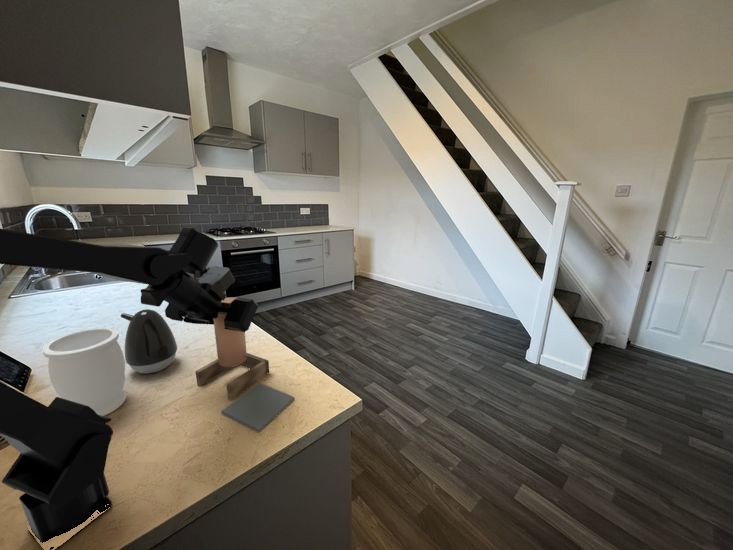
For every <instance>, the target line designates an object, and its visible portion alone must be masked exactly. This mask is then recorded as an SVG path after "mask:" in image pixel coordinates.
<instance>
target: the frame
mask: <svg viewBox="0 0 733 550" xmlns="http://www.w3.org/2000/svg"><path fill="white" fill-rule="evenodd" d="M239 366H241V367H243V366H244V368H246V367H247V368H246V369H248V370H247V371H245V372H244V373H242V374H241V375H239V376H237V377H236V378H234V379H233V380H231V381H230V382H228V383H226V392H227V393H226V395H227V400H229V401H232V400H234V399H235V398H236V397H238V396H240V395H241V394H242V393H244V392H245V391H246V390H248V389H250V386H251V387H252V386H253V385H255V384H256V383H258V382H259V381H260V380H262V379H263V378H265V377H266V376H267V375H268V374H267V373H269V374H270V363H269V360H268V359H266V358H263V357H260V356H257V355H254V354H251V353H248V352H247V359H246V361H245V362H243V363H242V364H240V365H239ZM249 368H250V369H249ZM230 369H232V367H223V366H220V365H219V364H218V358H217V359H216V360H213V361H212V362H210V363H208V364H206V365H204V366H202V367H200V368H198V369H197V370H195V371H194V372H195V378H196V385H197V386H200V387H201V386H203V385H204V384H206V383H207V382H210V381H211V380H213V379H214V378H216V377H217V376H219V375H221V374H223V373H225V372H226V371H228V370H230ZM266 374H267V375H266ZM265 375H266V376H265ZM264 376H265V377H264ZM262 377H263V378H262ZM261 378H262V379H261ZM259 379H260V380H259ZM258 380H259V381H258ZM257 381H258V382H257ZM254 383H255V384H254ZM247 388H248V389H247ZM243 391H244V392H243Z"/></svg>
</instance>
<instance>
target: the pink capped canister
mask: <svg viewBox="0 0 733 550" xmlns="http://www.w3.org/2000/svg"><path fill="white" fill-rule="evenodd" d="M236 298H237V297H235V296H234V297H233V296H231V297H225V299H224V300H222V301H221V302H224V303H231V302H232V301H233V300H234V299H236ZM225 316H226V315H222V314H218V317H217V319H213V320H214V325H213V328H214V336H215V345H216V355H217V359H218V364H219V365H220V366H223V367H231V368H233V367H237V366H241V365H240V364H242V363H243V362H245V361H246V359H247V353H248V352H247V341H246V332H241V331H233V330H228V329H224V328H225V326H224V319H225Z"/></svg>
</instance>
